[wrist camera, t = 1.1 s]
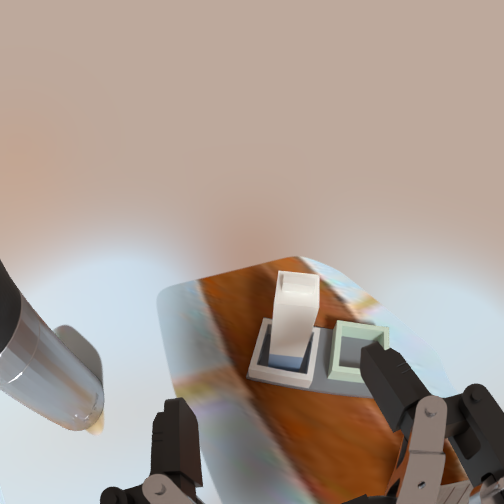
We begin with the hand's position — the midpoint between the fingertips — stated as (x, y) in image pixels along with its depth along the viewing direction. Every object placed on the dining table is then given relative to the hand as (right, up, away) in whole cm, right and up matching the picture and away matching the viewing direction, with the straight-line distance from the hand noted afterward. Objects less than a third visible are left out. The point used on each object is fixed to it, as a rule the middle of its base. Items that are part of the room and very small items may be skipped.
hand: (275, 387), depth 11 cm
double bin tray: (+8, -7, +21) cm, 24 cm away
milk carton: (+3, -7, +21) cm, 22 cm away
